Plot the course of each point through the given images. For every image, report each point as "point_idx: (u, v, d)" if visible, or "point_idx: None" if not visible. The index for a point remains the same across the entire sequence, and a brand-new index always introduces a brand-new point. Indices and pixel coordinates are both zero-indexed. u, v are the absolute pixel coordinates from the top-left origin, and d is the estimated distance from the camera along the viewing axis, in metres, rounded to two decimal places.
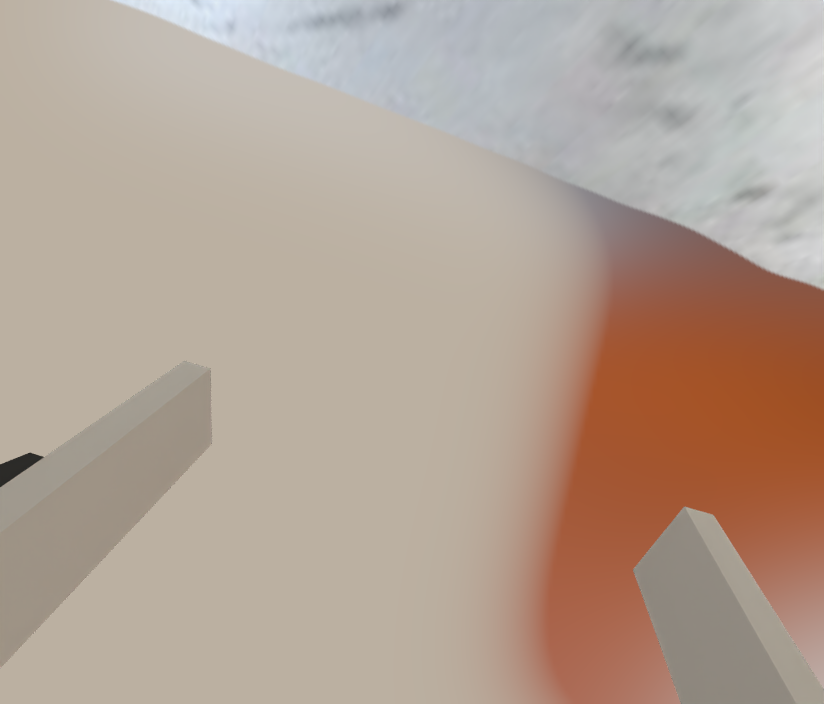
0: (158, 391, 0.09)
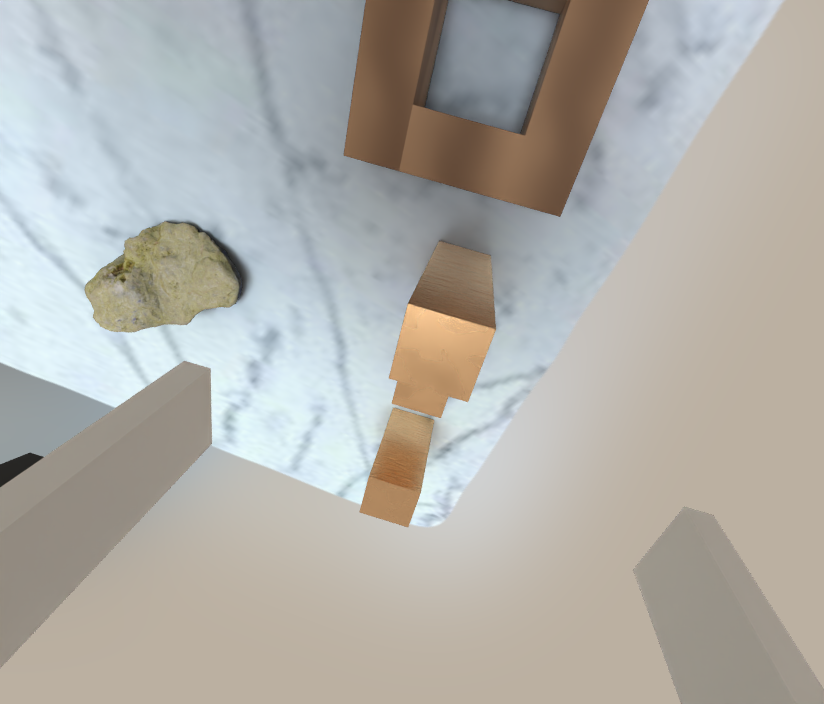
0: (158, 391, 0.09)
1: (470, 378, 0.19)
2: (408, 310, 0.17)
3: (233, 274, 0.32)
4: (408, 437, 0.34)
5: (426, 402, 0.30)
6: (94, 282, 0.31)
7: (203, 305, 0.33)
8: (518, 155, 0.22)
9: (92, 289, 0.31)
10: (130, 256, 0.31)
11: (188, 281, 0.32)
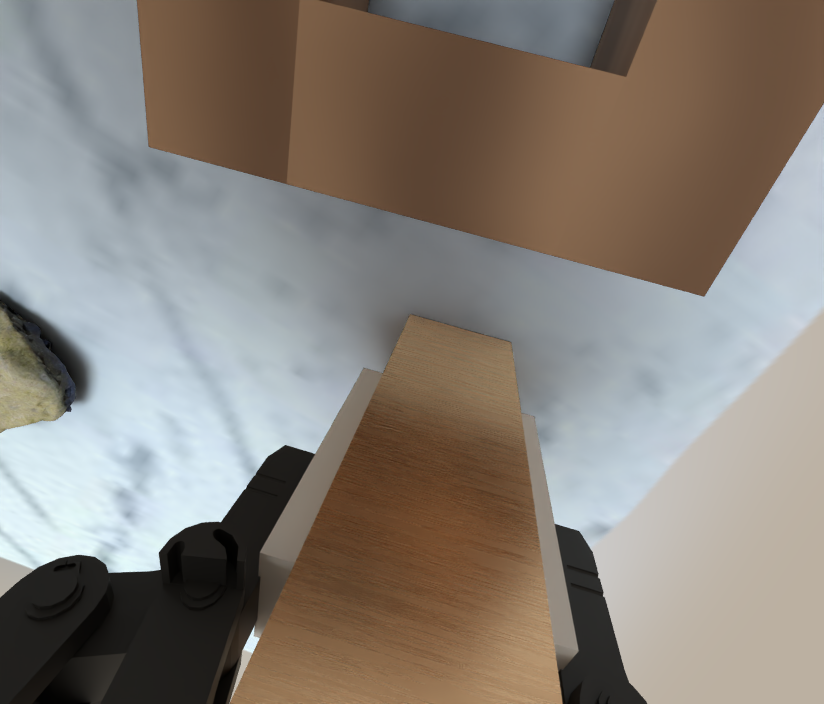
0: (361, 394, 0.11)
1: None
2: None
3: (38, 371, 0.17)
4: None
5: None
6: None
7: (2, 423, 0.18)
8: (602, 136, 0.08)
9: None
10: None
11: None
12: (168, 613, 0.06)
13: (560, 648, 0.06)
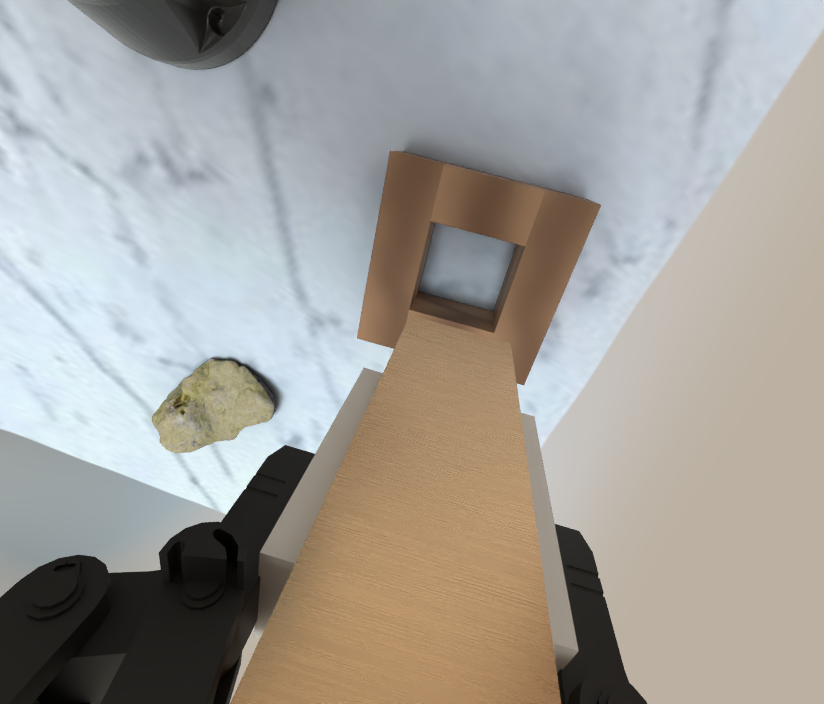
0: (361, 394, 0.11)
1: None
2: None
3: (269, 399, 0.39)
4: None
5: None
6: (159, 415, 0.39)
7: (246, 423, 0.40)
8: None
9: (158, 421, 0.39)
10: (186, 391, 0.39)
11: (233, 407, 0.39)
12: (169, 613, 0.06)
13: (560, 648, 0.06)
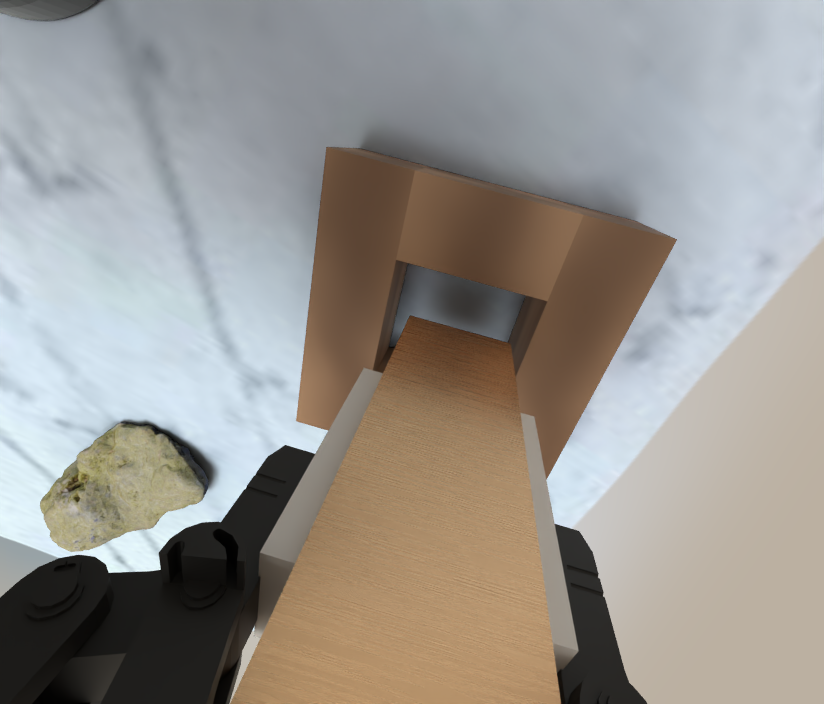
0: (361, 394, 0.11)
1: None
2: None
3: (194, 480, 0.29)
4: None
5: None
6: (48, 501, 0.29)
7: (167, 508, 0.30)
8: None
9: (46, 509, 0.29)
10: (84, 469, 0.29)
11: (147, 489, 0.29)
12: (168, 613, 0.06)
13: (560, 648, 0.06)
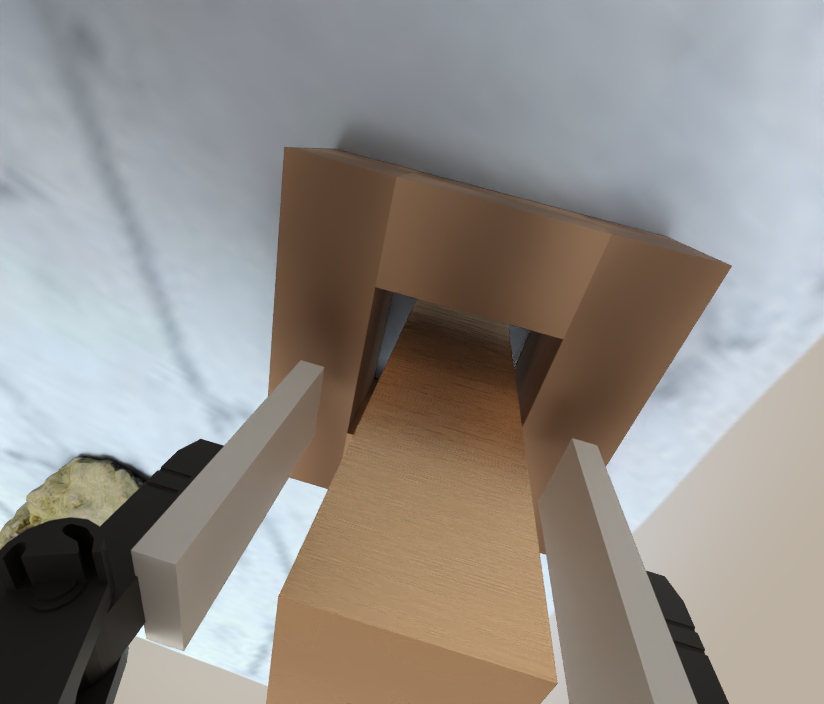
0: (291, 386, 0.11)
1: None
2: (284, 609, 0.06)
3: None
4: None
5: None
6: None
7: None
8: None
9: None
10: (35, 511, 0.26)
11: None
12: (13, 620, 0.05)
13: None
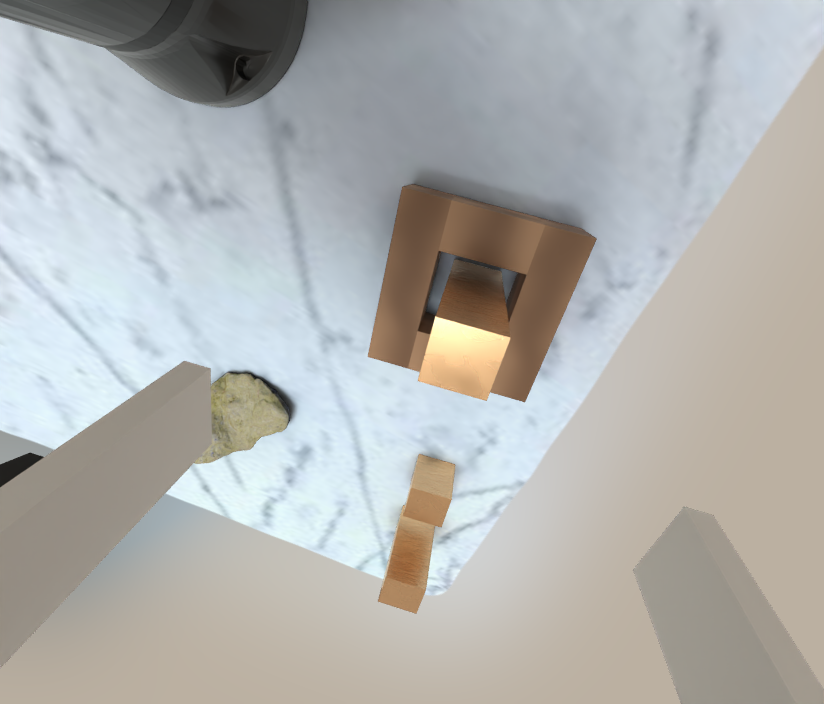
0: (158, 391, 0.09)
1: (488, 380, 0.21)
2: (435, 322, 0.21)
3: (283, 410, 0.40)
4: (416, 536, 0.43)
5: (429, 516, 0.39)
6: None
7: (262, 433, 0.42)
8: None
9: None
10: None
11: (249, 418, 0.41)
12: None
13: None
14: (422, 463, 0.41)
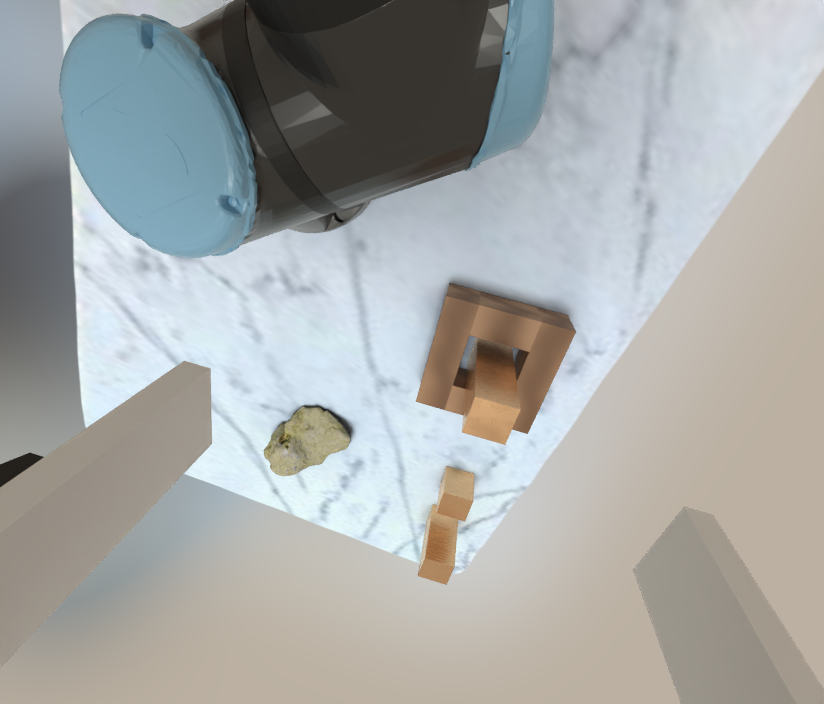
0: (158, 391, 0.09)
1: (506, 433, 0.35)
2: (475, 399, 0.34)
3: (347, 434, 0.54)
4: (444, 527, 0.57)
5: (456, 513, 0.53)
6: (270, 449, 0.54)
7: (330, 452, 0.55)
8: None
9: (269, 454, 0.54)
10: (288, 431, 0.54)
11: (321, 441, 0.54)
12: None
13: None
14: (449, 473, 0.55)
